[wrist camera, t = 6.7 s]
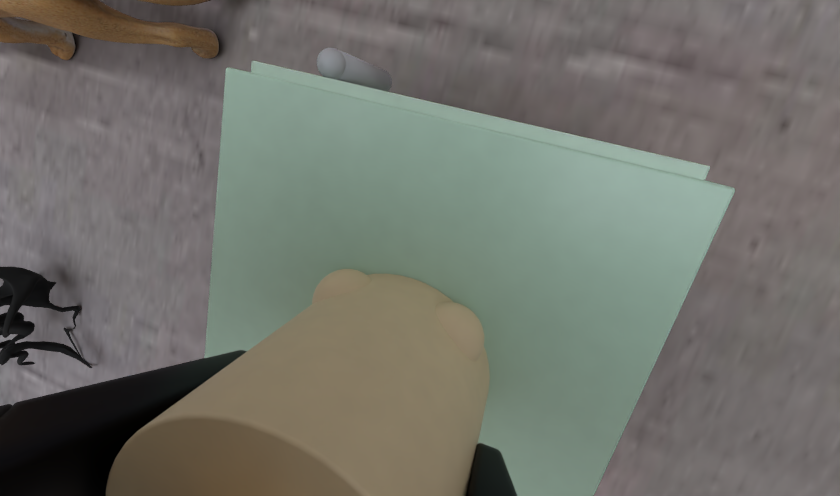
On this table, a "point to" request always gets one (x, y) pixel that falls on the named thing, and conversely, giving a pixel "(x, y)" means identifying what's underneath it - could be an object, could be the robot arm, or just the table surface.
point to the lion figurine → (96, 26)
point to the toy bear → (329, 404)
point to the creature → (18, 292)
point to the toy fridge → (463, 244)
